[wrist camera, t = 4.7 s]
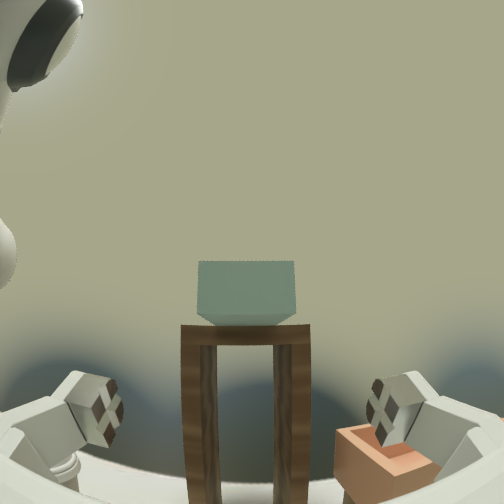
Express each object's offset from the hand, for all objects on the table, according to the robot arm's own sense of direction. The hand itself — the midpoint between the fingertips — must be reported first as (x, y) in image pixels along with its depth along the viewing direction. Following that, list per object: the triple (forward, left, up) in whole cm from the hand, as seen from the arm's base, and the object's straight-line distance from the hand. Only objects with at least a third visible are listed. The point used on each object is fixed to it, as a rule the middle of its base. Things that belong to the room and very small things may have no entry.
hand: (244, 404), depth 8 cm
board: (-11, +11, +3) cm, 16 cm away
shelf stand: (-14, +14, -23) cm, 30 cm away
